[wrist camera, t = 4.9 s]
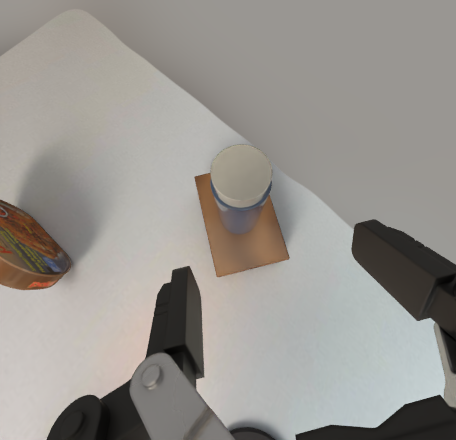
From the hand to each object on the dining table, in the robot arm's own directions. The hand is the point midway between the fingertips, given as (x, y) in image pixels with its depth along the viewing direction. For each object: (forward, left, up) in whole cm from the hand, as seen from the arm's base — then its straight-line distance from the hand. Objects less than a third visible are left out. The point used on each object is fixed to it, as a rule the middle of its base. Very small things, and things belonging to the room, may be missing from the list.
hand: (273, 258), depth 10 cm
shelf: (0, -6, -18) cm, 19 cm away
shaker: (0, -6, -13) cm, 14 cm away
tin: (+27, -10, -18) cm, 34 cm away
